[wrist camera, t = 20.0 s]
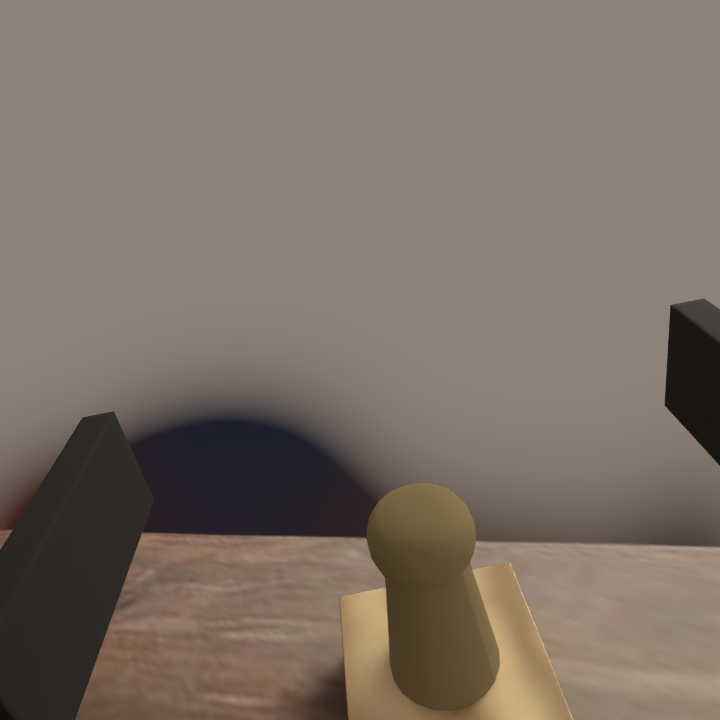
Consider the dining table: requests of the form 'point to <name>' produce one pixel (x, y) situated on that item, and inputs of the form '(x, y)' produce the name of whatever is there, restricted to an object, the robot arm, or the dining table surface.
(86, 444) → the robot arm
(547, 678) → the riser block
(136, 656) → the dining table surface
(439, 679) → the olive green peg figure
